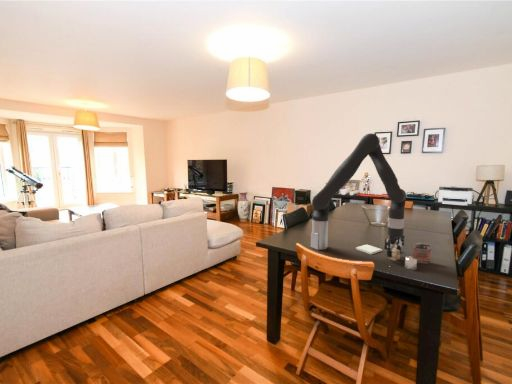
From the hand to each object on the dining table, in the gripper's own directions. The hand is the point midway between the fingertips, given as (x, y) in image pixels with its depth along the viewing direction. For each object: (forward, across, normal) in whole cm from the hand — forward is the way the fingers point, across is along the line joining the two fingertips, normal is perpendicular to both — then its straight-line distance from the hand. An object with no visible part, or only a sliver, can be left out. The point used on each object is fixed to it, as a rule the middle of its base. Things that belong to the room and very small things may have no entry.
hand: (393, 255), depth 136 cm
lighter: (+2, -8, +10) cm, 13 cm away
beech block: (+2, 0, 0) cm, 2 cm away
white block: (+2, -11, -7) cm, 13 cm away
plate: (+2, 0, -15) cm, 15 cm away
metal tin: (+2, +4, +11) cm, 12 cm away
